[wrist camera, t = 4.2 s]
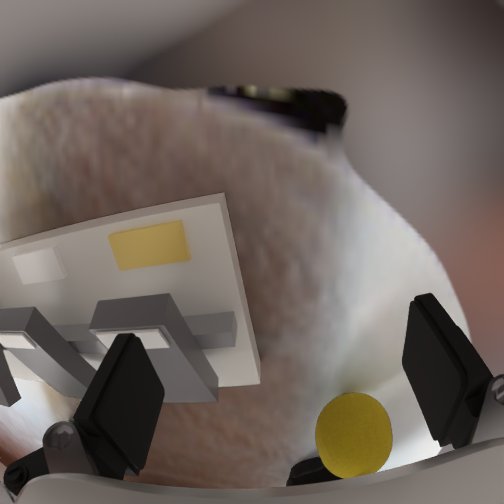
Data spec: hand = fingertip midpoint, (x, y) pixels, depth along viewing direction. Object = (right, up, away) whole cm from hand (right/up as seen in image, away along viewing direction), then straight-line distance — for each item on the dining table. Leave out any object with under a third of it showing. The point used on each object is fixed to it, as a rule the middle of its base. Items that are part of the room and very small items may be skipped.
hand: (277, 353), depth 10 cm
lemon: (+7, -8, +13) cm, 16 cm away
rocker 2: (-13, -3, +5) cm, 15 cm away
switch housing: (-13, -1, +10) cm, 16 cm away
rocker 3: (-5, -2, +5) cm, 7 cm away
